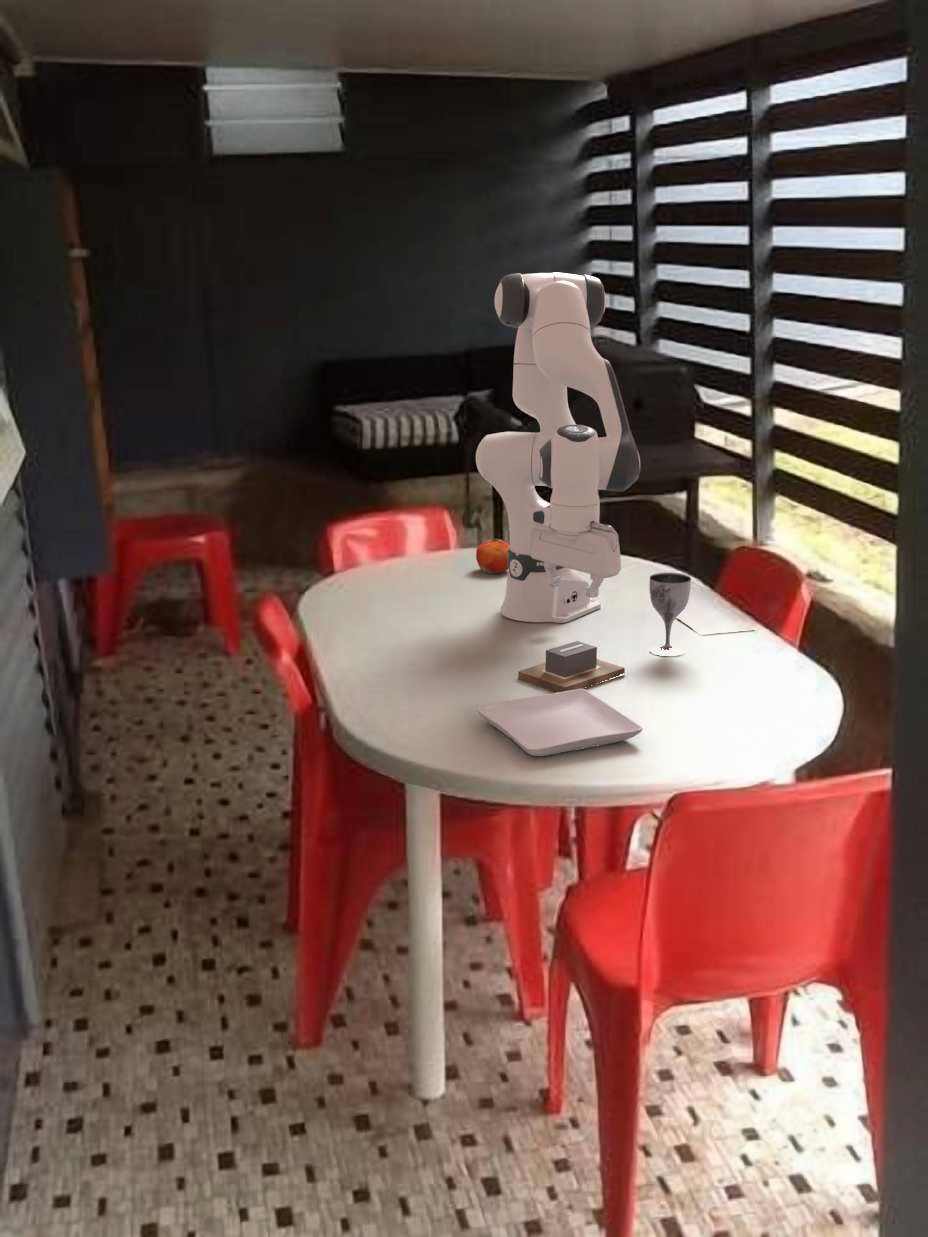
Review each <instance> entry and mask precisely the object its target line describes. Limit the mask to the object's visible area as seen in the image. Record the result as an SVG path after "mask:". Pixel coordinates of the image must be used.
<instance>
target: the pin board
mask: <svg viewBox="0 0 928 1237" xmlns="http://www.w3.org/2000/svg"><path fill="white" fill-rule="evenodd" d="M545 668H546V662H544V663H540V664H538V665H534V666H531V667H528V668H524V669H521V670H517V673H518V674H517V679H518V680H521V681H524V682H526V683H529V684H531V683H532V684H531V685H535V686H538V687H540V688H542V689H546V690H548V689H549V691H551V690H552V691H551V692H553V693H557V692H563V691H570V690H575V689H584V688H585V687H588V688H591V687H592V686H591V685H594V686H596V685H595V684H597V683H600V682H602V681H605V680H609V679H610V678H613V677H616V676H619V675H620V674H623V673H625V671H626V670H625V667H624V666H620V665H617V664H614V663H611V662H608V661H605V660H602V659H599V658H597V664H596V668H593V669H590V670H587V671H584V672H581V673H577V674H574V675H571V676H568V677H562V676H559V675H556V674H553V673H550V672H547V671H545ZM625 674H626V673H625ZM609 681H610V680H609ZM600 684H601V683H600ZM597 685H598V684H597ZM590 686H591V687H590ZM585 689H586V688H585Z"/></svg>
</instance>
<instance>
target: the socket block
mask: <svg viewBox="0 0 928 1237" xmlns="http://www.w3.org/2000/svg"><path fill="white" fill-rule="evenodd" d="M597 655H598V646H594V645H591V644H589V643H585V642H582V641H579V640H576V641H573V642H569V643H566V644H563V645H559V646H555V647H553V648H550V649H546V650H545V663H546V668H545V671H547V672H550V673H553V674H556V675H559V676H562V677H568V676H571V675H574V674H577V673H581V672H584V671H587V670H590V669H593V668H596V664H597V659H598V657H597Z"/></svg>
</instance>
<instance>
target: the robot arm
mask: <svg viewBox="0 0 928 1237" xmlns="http://www.w3.org/2000/svg"><path fill="white" fill-rule="evenodd" d="M606 305H607V297H606V292H605V287H604V285H603V283H602V282H601V280H600V279H599V278H598V277H596V276H592V275H589V274H582V275H579V274H574V273H565V272H556V271H555V272H553V271H552V272H537V273H536V272H534V273H523V274H522V273H520V272H517V273H510V274H506V275H504V276H503V277H502V278H501V279H500V281H499V283H498V286H497V288H496V291H495V294H494V309H495V312H496V315H497V318H498V320H499V321H500V322H501V323H502V325H504V326H507V327H509V328H510V327H511V328H514V329H517V333H516V337H515V343H514V344H515V345H514V354H513V369H512V370H513V375H512V376H513V377H512V378H513V379H512V399H513V402H514V404H515V406H516V407H517V409H519V410H521V412H523V413H525V414H527V415H528V416H530V417H533V418H534V419H535V420H537V422H538V424H539V430H540V431H539V432H529V431H527V432H526V431H503V432H496V433H491V434H486V435H484V437H483V438H482V439H481V441H480V442H479V443H478V445H477V448H476V451H475V463H476V464H475V465H476V467H477V470H478V472H479V474H480V475H481V476H482V478H483V479H484V480H485V481H487V482H488V483H489V484H490V485H492V487H493V488H495V491H496V492H497V493H498V494H499V495H500V497H501V499H502V501H503V502H504V505H505V508H506V512H507V516H508V525H509V527H508V528H509V545H510V548H509V549H508V555H507V558H508V568H509V569H508V570H507V571H508V572H507V577H506V578H507V579H506V587H505V588H506V589H505V594H504V600H503V601H502V608H501V614H502V616H504V617H505V618H508V619H510V620H514V621H517V622H519V621H520V622H526V623H558V624H560V623H562V624H564V623H568V622H571V621H572V620H575V619H578V618H580V617H583V616H584V615H587V614H589V613H592V612H594V611H596V610H599V609H601V608H602V607H601V603H600V601H598V599H595V598H598V596H599V591H600V586H601V585H602V584H603V582H604V580H605V579H608V578H612V577H616V576H618V575H619V574H620V571H621V569H622V568H621V567H622V566H621V565H622V563H621V550H620V543H619V542H620V541H619V534H618V533H617V531H616V530H615V529H614V528H613V526H612V525H610V524H603V523H600V506H601V505H600V502H601V501H600V496H599V490H601V491H602V490H605V491H611V492H621V493H622V492H625V491H626V490H628V489H629V488H630V487H631V486H632V485H634V484H635V483H636V482H637V480H638V479H639V478H640V472H641V457H640V454H639V450H638V447H637V444H636V442H635V439H634V437H633V434H632V431H631V428H630V424H629V420H628V416H627V413H626V409H625V405H624V402H623V398H622V394H621V390H620V387H619V384H618V380H617V376H616V375H615V372H614V369H613V366H612V364H611V362H610V361H609V360H608V359H606V358H604V357H602V356H601V354H600V353H599V352H598V351H597V349H596V348H595V346H594V344H593V341H592V334H591V329H592V328H595V327H596V326H597V325H598V324H599V323H600V322H601V321H602V319H603V315H604V313H605V310H606ZM568 388H571V389H573V390H575V391H576V390H577V391H578V392H581V393H583V394H585V395H587V396H589V397H591V398H592V399H593V400H594V401H595V402H596V403H597V405H598V408H599V411H600V415H601V419H602V423H603V426H604V429H605V430H604V431H605V433H606V434H605V435H606V436H602V437H601V436H600V437H599V436H598V433H597V431H596V430H595V429H594V428H592V427H590V426H586V425H583V424H576V422H575V420H574V418H573V416H572V413H571V410H570V408H569V403H568ZM536 486H540V487H541V486H543V487H548V488H549V489H552V491H551V492H552V493H551V495H550V502H548V501H547V500H544V499H543V498H542V497H540V495H539V494H538V492H537V491H536V488H535V487H536ZM577 571H578V572H577ZM579 572H581V573H585V574H589V575H590V576H589V577H590V580H591V584H589V582H588V580H587V579H586V578H585V577H584V576H583V575H581V574H580V573H579Z"/></svg>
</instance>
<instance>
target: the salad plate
mask: <svg viewBox="0 0 928 1237" xmlns="http://www.w3.org/2000/svg"><path fill="white" fill-rule="evenodd" d="M475 710H476V712H477V713H478V715H479V716H480V718H481V719H483V720H485V721H486V722H487V723H489V725H491V726H492V727H494V728H496V729H497V730H498V731H500V732H501V733H502V734H504V735H506V737H508V738H510V739H511V740H512V742H514V743H516V744H517V745H518V746H519V747H520V748H521V749H522V750H523V751H525V752H526V754H528V755H531V756H534V757H544V756H545V757H547V756H550V755H551V754H552V755H556V753H557V754H561V752H563V753H567V752H566V751H569V752H572V751H571V750H574V751H578V750H577V749H580V750H583V749H582V748H586V749H589V748H588V747H591V748H594V747H593V746H596V747H598V746H597V745H601V746H604V745H603V744H606V745H609V744H608V743H610V744H613V743H617V742H618V743H619V742H623V741H627V740H630V739H632V738H634V737H636V736H637V735H639V734H640V733H641V732H642V731H643V727H642V726H641V725H640V724H638V723H637V722H636V721H634V720H632V719H630V718H629V717H628V716H626V715H625V714H623V713H622V712H620V711H618V710H617V709H615V708H614V707H613V706H611V705H609V704H608V703H607V702H605V701H603V700H602V699H601V698H600V697H598V696H596V695H594V694H592V693H591V692H590V691H588V690H586V688H585V689H575V690H570V691H563V692H558V693H557V692H553V693H547V694H546V693H545V694H541V695H535V696H529V697H524V698H518V699H512V700H508V701H502V702H496V703H491V704H490V703H489V704H486V705H481V706H477V707H476V708H475ZM552 755H551V756H552Z"/></svg>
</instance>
